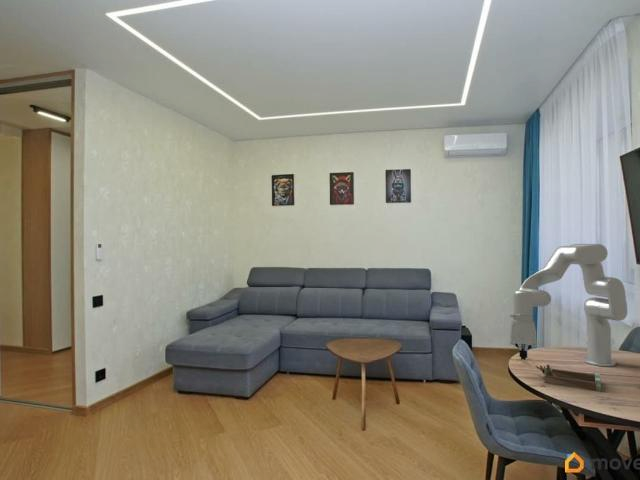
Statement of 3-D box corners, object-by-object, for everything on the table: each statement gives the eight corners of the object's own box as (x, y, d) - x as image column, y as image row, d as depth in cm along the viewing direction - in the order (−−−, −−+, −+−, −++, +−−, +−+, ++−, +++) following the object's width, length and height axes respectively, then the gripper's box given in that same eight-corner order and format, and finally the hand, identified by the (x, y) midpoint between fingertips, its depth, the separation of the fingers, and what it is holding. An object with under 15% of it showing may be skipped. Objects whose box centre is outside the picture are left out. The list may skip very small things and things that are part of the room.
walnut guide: (546, 374, 176) (545, 365, 176) (599, 382, 165) (599, 372, 165) (544, 382, 166) (544, 373, 166) (600, 391, 155) (600, 381, 155)
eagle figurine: (531, 373, 174) (544, 376, 165) (537, 359, 176) (550, 361, 167) (547, 382, 174) (560, 385, 165) (553, 367, 175) (566, 370, 167)
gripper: (503, 317, 176) (503, 358, 176) (541, 321, 168) (541, 363, 168) (506, 315, 183) (506, 354, 182) (542, 318, 174) (543, 359, 174)
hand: (523, 358), depth 175 cm, fingers closed
